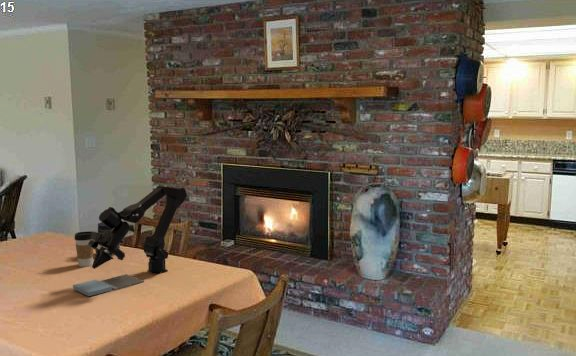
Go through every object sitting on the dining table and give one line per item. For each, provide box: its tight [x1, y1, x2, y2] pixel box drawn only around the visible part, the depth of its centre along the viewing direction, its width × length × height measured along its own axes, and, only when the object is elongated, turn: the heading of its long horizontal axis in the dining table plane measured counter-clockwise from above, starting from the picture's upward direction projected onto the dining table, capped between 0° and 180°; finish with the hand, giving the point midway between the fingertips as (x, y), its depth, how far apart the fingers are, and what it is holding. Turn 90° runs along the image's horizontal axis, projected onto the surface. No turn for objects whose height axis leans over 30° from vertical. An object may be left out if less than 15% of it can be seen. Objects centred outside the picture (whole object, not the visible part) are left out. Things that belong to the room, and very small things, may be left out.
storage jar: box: [97, 221, 121, 249], centre depth 248 cm, size 10×10×15 cm
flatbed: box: [99, 273, 145, 291], centre depth 207 cm, size 13×13×1 cm
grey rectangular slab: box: [72, 279, 113, 297], centre depth 197 cm, size 2×12×10 cm
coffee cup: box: [74, 231, 94, 268], centre depth 229 cm, size 8×8×15 cm
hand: (93, 268), depth 197 cm, fingers closed
